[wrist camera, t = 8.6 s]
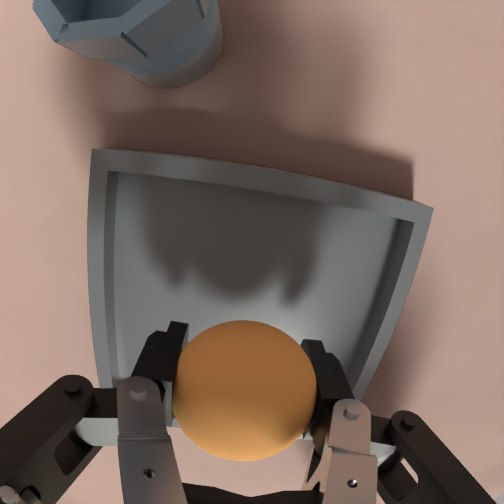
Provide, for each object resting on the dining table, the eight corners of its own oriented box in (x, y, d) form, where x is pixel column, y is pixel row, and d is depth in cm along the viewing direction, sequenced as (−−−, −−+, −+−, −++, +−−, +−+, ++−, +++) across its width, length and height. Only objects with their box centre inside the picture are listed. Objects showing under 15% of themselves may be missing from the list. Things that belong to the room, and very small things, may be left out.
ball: (318, 304, 12) (356, 394, 7) (288, 397, 13) (303, 487, 9) (186, 285, 11) (153, 374, 7) (179, 384, 13) (159, 475, 8)
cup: (232, 4, 10) (223, -96, 4) (213, 92, 12) (180, 35, 5) (137, 2, 10) (70, -76, 3) (116, 86, 11) (17, 50, 5)
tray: (413, 200, 13) (433, 208, 12) (334, 418, 18) (340, 438, 16) (110, 148, 12) (92, 148, 10) (113, 391, 17) (104, 410, 15)
